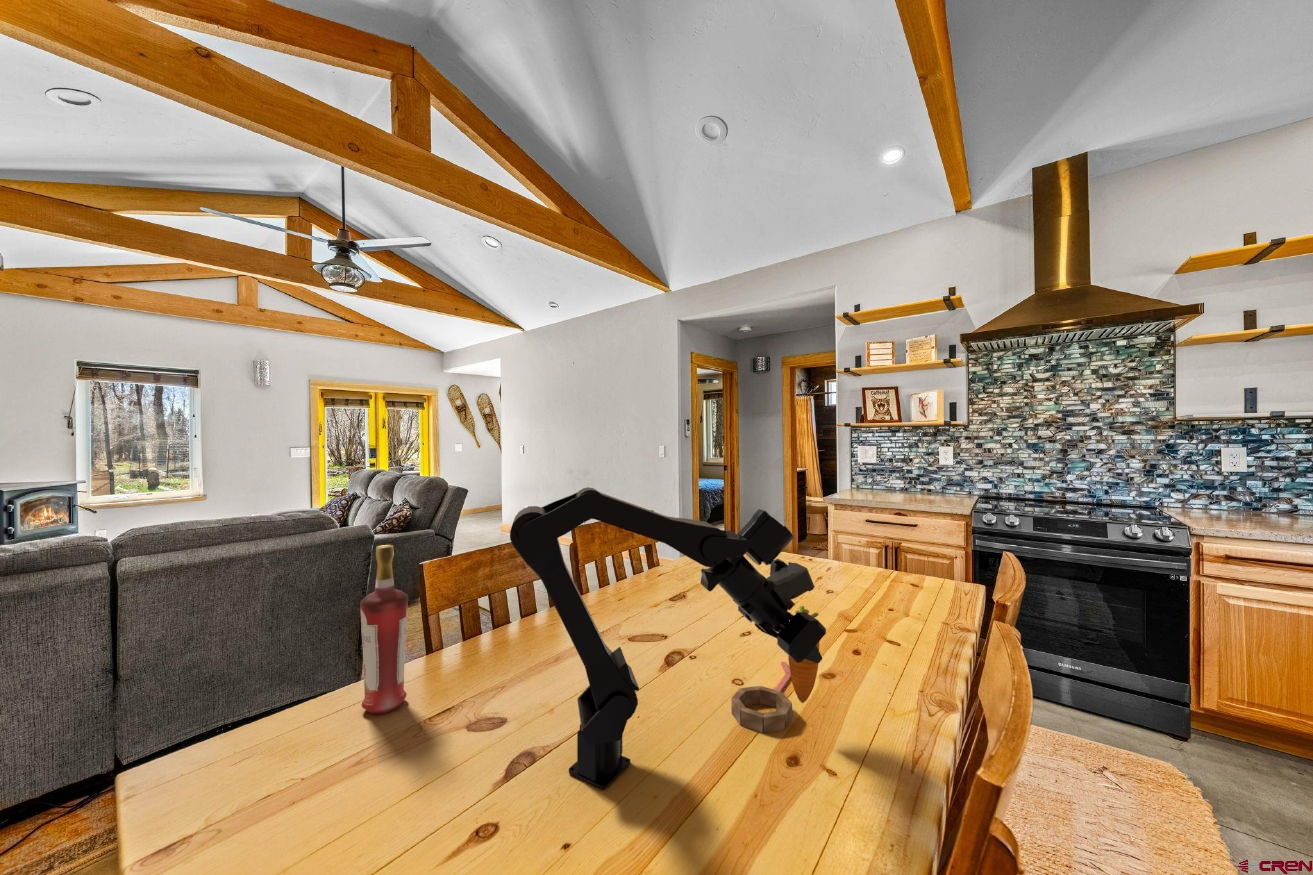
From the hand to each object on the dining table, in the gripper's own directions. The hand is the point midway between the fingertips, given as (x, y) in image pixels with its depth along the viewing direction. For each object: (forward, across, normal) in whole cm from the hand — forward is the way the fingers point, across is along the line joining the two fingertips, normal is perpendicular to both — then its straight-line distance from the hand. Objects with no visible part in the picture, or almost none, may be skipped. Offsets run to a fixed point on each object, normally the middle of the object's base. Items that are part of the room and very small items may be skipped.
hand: (810, 653), depth 77 cm
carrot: (+5, 0, +6) cm, 8 cm away
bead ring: (+6, +7, +13) cm, 16 cm away
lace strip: (+12, +17, +7) cm, 22 cm away
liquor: (-38, +25, +58) cm, 74 cm away
